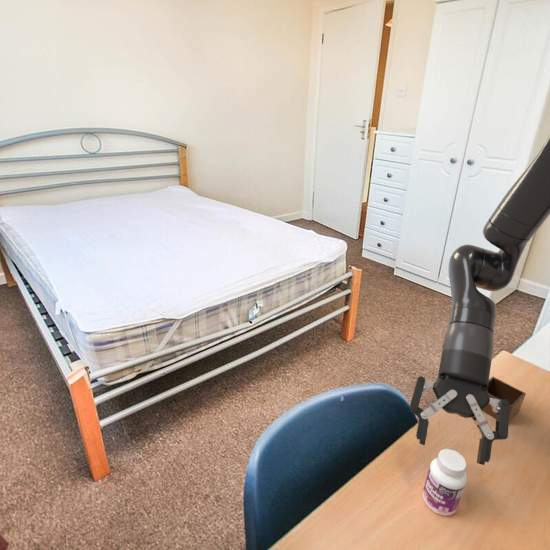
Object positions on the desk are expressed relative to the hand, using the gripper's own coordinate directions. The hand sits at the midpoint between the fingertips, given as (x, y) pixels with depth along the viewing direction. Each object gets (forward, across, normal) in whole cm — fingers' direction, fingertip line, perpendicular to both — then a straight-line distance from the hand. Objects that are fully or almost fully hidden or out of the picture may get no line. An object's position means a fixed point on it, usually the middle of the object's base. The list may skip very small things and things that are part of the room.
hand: (450, 454), depth 60 cm
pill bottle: (+8, 0, +5) cm, 9 cm away
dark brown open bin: (-12, +11, +25) cm, 30 cm away
